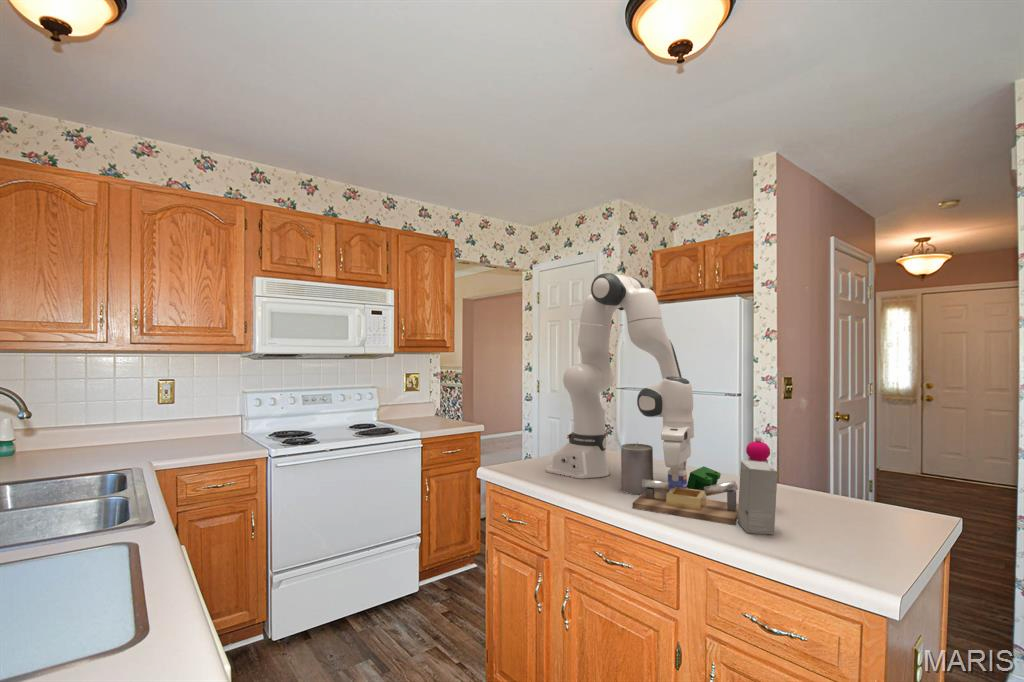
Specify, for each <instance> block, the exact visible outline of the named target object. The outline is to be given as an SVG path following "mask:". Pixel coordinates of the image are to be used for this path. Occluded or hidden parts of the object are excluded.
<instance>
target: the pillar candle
mask: <svg viewBox="0 0 1024 682" xmlns="http://www.w3.org/2000/svg"><path fill="white" fill-rule="evenodd" d="M653 452H654V449H653V446H652V445H649V444H645V443H644V444H643V443H638V442H636V443H625V444H622V445H621V447H620V458H621V459H620V461H621V463H620V465H621V466H620V467H621V470H620V471H621V472H620V473H621V477H620V478H621V479H620V480H621V481H620V482H621V483H620V485H621V487H620V488H621V491H622V490H623V491H625V492H624V493H626V492H628V493H627V494H629V493H632V494H631V495H642V494H643V493H644V492H645V491H646V488H645V487H642V480H643V479H650V480H654V458H653V457H654V455H653ZM623 491H622V492H623Z"/></svg>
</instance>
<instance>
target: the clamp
mask: <svg viewBox="0 0 1024 682" xmlns="http://www.w3.org/2000/svg"><path fill="white" fill-rule="evenodd" d="M721 475H722V474H721V472H719V471H716V470H714V469H711V468H709V467H707V466H701V467H699V468H697V469H695V470H693V471H691V472H689V476H688V479H687V488H688V489H695V490H702V491H704V487H707V486H711V485H716V484H718V481H719V479H721Z"/></svg>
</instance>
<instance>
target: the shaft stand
mask: <svg viewBox="0 0 1024 682" xmlns="http://www.w3.org/2000/svg"><path fill="white" fill-rule="evenodd" d="M642 487H645V488H646V491H645V492H644V493H643V494H640V495H639V496H638V497H637V498H636V499H635V500H634V501H633V502H632V503H631V504H632V509H635V508H637V509H636V510H641V509H644V510H643V511H647V510H650V511H649V512H653V511H656V512H655V513H659V512H661V513H660V514H665V513H667V514H666V515H671V514H672V515H673V516H677V515H678V516H679V517H683V516H684V517H683V518H689V517H690V519H695V518H696V520H702V521H708V522H713V523H722V524H725V523H726V524H727V525H732V526H736V523H737V522H738V520H737V519H738V503H737V491H738V490H739V488H738V485H737V482H736V480H730V481H726V482H722V483H717V484H716V485H711V486H707V487H704V490H702V489H696V490H695V489H688V488H681V487H673V488H672V489H671V490H670V491H669V492H668V489H669V482H668V481H663V480H657V479H653V480H650V479H643V480H642ZM655 490H660V491H666V492H667V493H666V492H659V491H655ZM723 493H726V501H723V500H722V501H721V500H713V499H707V497H709V496H715V495H719V494H723ZM678 516H677V517H678Z"/></svg>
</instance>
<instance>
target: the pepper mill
mask: <svg viewBox="0 0 1024 682" xmlns="http://www.w3.org/2000/svg"><path fill="white" fill-rule="evenodd" d="M762 440H763V439H762V437H761V436H760V435H755V436H754V441H750V442H749V443H748V444H747V446H746V447H745V448H746V449H745V452H746V454H747V456H748V460H747V461H756V462H766V463H768V464H769V460H768V458H769V457H770V456H771V448H770V446H769V445H768V444H767V443H765V442H764V441H762Z"/></svg>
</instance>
